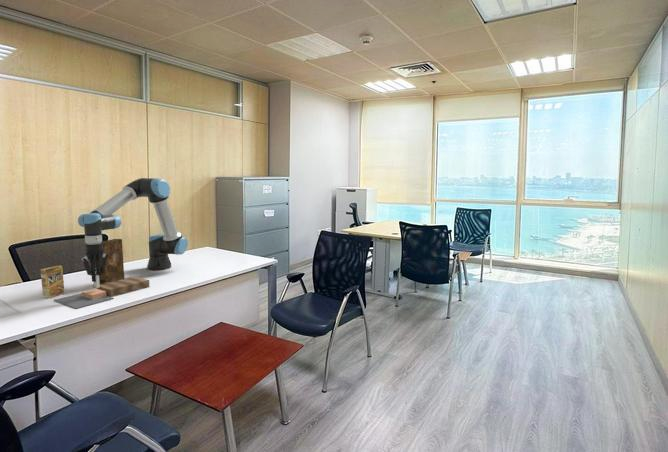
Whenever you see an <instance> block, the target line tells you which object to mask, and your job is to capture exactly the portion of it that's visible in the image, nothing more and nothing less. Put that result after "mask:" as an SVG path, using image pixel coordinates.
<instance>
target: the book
mask: <svg viewBox="0 0 668 452" xmlns="http://www.w3.org/2000/svg"><path fill="white" fill-rule="evenodd" d="M101 243H102V245H103V252H104V254H107V255H108V257H107V260H106V265H105V271H104V273H102V275H101V280H100V281H99V283H100V284H105V283H109V282H113V281H118V280H122V279H125V268H124V266H125V265H124V252H123V250H124V248H123V240H122V238H113V239H109V240H102V242H101ZM101 260H102V257H101ZM100 266H101V262H100ZM95 267H96V264H95ZM96 275H97V274H96Z"/></svg>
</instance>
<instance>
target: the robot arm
mask: <svg viewBox="0 0 668 452" xmlns="http://www.w3.org/2000/svg"><path fill="white" fill-rule="evenodd" d="M170 194H171V187H170V184H169V183H168V181H166V179H163V178H158V177H155V178H154V177H153V178H152V177H151V178H148V177H147V178H146V177H142V178H138V179H134V180H133V181H131V182H129V183H128V184H126V185H124V186H123V187H122V189H121V191H119V192H117V193H116V194H114V195H113V196H112V197H111V198H109V199H107V200H106V201H105V202H103V203H102V204H100V205H99V206H98V207H96V208H95V209H93V210H92V211H90V212H88V213H82V214H81V215H79V217H78V218H77V223H78V225H79V226H80V227H82V228H83V231H84V242H85V256H84V257H81V258H80V260H81V262H83V265H84V268H85V271H86V275H88V276H91V282H92V283H93V288H94V289H95V288H99V287H100V283H99V281H100V280H101V275H102V273H104V271H105V265H106V260H107V257H108V255H107V254H104V252H103V245H102V243H101V242H103V232H102V231H107V230H114V229H118V228H120V227H121V226H122V219H121V217H120V216H119V215H118V214H115V213H116V212H117V211H118V210H120V209H121V208H122V207H124V206H125V205H127V204H128V203H129V202H131V201H134V200H136V199H138V198H147V199H148V202H149V203H150V204H152V206H153V209H154V211H155V213H156V216H157V218H158V222H159V224H160V227H161V230H162V233H160V234H159V233H158V234H153V235H152V234H151V235H149V236H148V252H149V258H148V262H147V264H146V267H147V268H146V269H147V270H149V271H161V270H168V269H171V268H172V262H171V260H170V257H169V255H176V256H177V255H183V254H185V252H186V251H188V250H187V249H188V246H189V241H188V239H187V238H186V237H184V236H183V235H182V233H181V232H180V231H178V228H177V226H176V225H177V224H176V223H175V219H174V216H173V214H172V211H171V208H170V204H169V201H168V199H169V198H170V197H169V195H170ZM101 257H102V260H101ZM100 262H101V266H100ZM95 264H96V266H95ZM96 274H97V275H96Z"/></svg>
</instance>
